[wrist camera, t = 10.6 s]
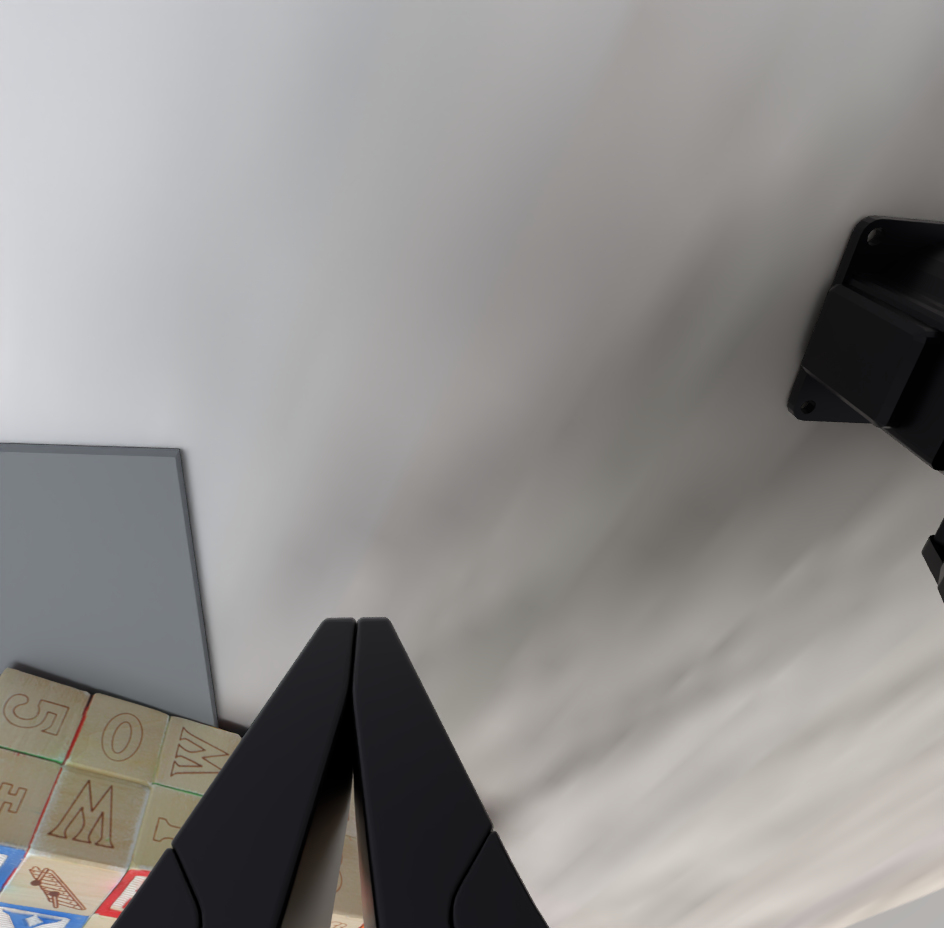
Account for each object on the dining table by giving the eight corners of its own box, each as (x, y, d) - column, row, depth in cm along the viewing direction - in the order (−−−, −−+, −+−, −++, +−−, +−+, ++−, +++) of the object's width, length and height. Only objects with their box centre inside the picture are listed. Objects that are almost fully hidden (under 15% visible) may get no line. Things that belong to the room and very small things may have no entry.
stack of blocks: (7, 656, 24) (-100, 840, 28) (-90, 826, 19) (-204, 1020, 23) (474, 803, 33) (340, 926, 37) (497, 946, 28) (338, 1070, 32)
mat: (179, 449, 21) (175, 457, 21) (236, 853, 33) (234, 863, 33) (-255, 435, 20) (-270, 443, 19) (-32, 866, 31) (-37, 877, 31)
